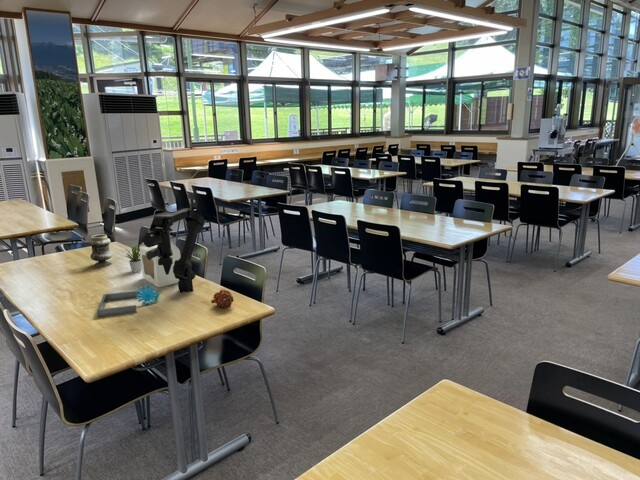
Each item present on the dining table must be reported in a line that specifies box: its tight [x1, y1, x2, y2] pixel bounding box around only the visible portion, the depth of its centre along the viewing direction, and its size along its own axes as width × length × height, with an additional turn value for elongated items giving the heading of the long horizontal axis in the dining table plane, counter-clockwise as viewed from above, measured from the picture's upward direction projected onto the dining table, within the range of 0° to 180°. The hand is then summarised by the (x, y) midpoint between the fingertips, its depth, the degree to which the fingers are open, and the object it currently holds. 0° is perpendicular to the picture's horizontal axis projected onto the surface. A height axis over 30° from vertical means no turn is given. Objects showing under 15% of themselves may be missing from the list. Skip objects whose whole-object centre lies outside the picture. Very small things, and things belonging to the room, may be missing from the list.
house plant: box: [122, 242, 142, 273], centre depth 264 cm, size 14×14×16 cm
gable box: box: [138, 228, 181, 288], centre depth 246 cm, size 22×13×28 cm, turn 41°
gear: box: [136, 284, 162, 306], centre depth 217 cm, size 11×6×10 cm
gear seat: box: [96, 290, 140, 318], centre depth 212 cm, size 16×21×3 cm
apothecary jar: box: [88, 233, 113, 268], centre depth 278 cm, size 12×12×18 cm
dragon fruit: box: [210, 289, 235, 309], centre depth 209 cm, size 8×8×12 cm
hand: (167, 274), depth 218 cm, fingers closed
